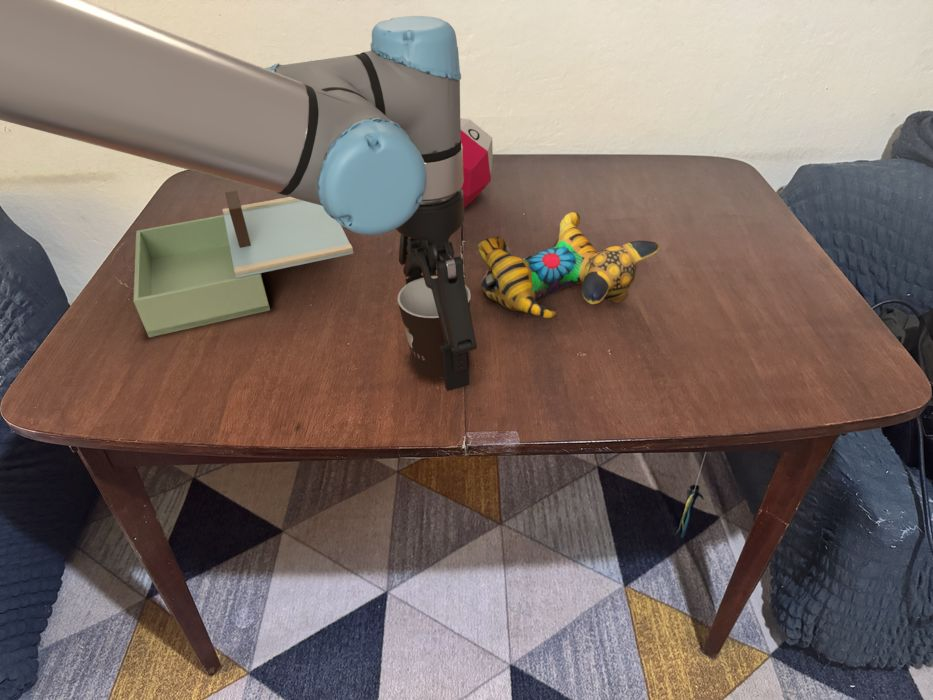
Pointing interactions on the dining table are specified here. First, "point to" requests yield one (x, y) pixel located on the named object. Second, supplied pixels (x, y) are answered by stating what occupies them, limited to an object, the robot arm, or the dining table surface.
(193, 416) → the dining table surface
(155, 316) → the green open storage box
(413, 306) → the coffee mug
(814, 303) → the dining table surface
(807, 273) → the dining table surface
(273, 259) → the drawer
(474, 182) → the decorative object
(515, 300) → the dog figurine
